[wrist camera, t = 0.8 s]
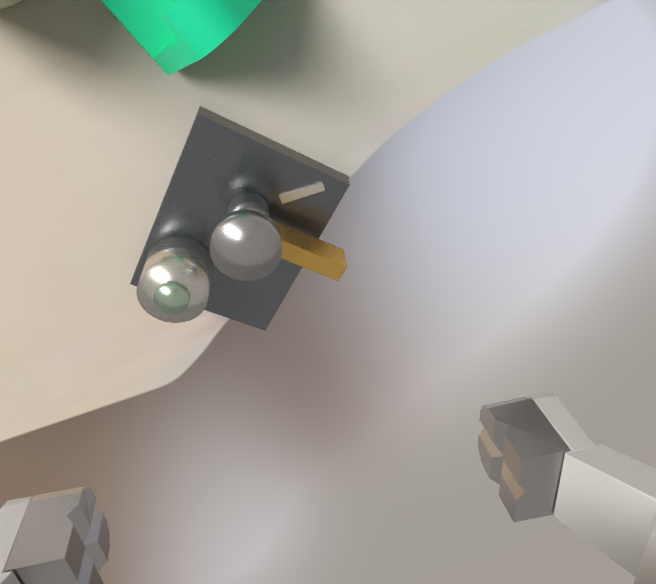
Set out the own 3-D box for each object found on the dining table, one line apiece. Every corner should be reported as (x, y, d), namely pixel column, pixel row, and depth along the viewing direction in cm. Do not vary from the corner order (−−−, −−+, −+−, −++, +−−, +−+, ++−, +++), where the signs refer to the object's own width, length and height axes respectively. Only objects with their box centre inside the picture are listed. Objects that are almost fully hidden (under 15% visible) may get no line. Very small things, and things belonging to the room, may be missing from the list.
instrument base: (200, 106, 46) (189, 138, 39) (346, 175, 50) (358, 214, 44) (134, 272, 54) (116, 321, 48) (265, 318, 59) (264, 368, 52)
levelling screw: (207, 224, 49) (199, 265, 43) (231, 171, 47) (226, 207, 41) (323, 270, 53) (330, 314, 47) (351, 224, 50) (362, 264, 45)
